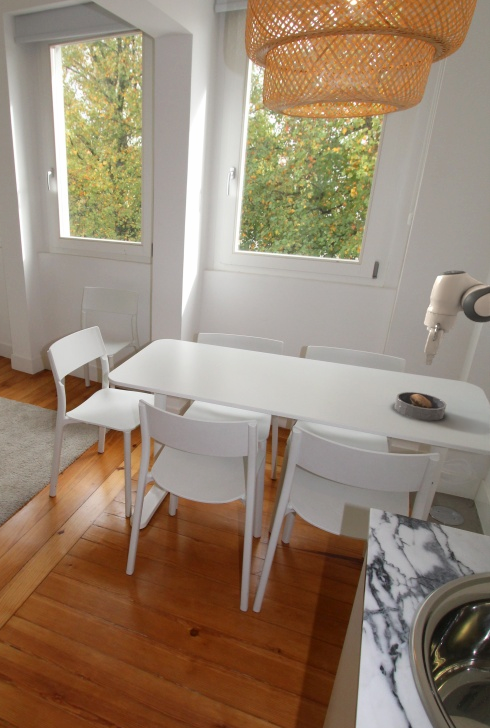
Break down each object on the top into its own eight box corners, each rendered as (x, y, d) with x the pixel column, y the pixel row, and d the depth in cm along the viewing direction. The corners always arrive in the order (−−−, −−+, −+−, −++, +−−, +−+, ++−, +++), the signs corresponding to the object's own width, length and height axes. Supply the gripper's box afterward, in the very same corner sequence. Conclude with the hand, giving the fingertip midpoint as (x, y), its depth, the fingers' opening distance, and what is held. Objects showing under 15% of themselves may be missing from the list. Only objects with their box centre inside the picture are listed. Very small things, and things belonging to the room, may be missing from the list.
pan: (444, 410, 167) (447, 398, 165) (440, 425, 155) (444, 413, 154) (398, 399, 175) (400, 388, 173) (390, 413, 163) (393, 402, 162)
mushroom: (404, 404, 162) (418, 390, 161) (401, 403, 170) (413, 390, 168) (424, 419, 160) (438, 406, 159) (420, 418, 168) (433, 405, 166)
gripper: (448, 329, 144) (437, 371, 149) (453, 316, 159) (442, 355, 165) (425, 325, 147) (415, 366, 152) (432, 314, 163) (422, 351, 168)
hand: (429, 360), depth 159 cm, fingers open, 8 cm apart
